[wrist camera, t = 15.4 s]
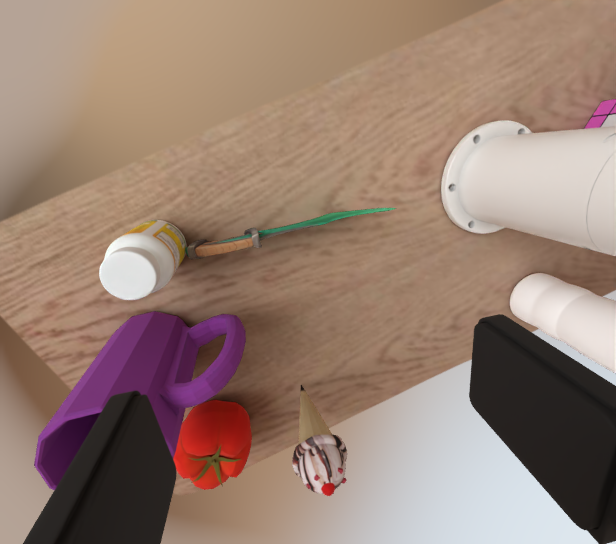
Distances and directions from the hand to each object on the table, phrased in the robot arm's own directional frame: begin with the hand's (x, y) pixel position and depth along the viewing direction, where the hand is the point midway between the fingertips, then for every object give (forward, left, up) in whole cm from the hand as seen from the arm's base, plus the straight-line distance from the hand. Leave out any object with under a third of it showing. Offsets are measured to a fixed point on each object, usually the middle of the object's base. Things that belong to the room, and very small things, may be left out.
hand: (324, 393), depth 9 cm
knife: (-2, +1, -27) cm, 27 cm away
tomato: (+10, +25, -27) cm, 38 cm away
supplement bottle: (+11, +1, -27) cm, 29 cm away
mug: (+11, +11, -27) cm, 32 cm away
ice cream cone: (-1, +23, -27) cm, 35 cm away
